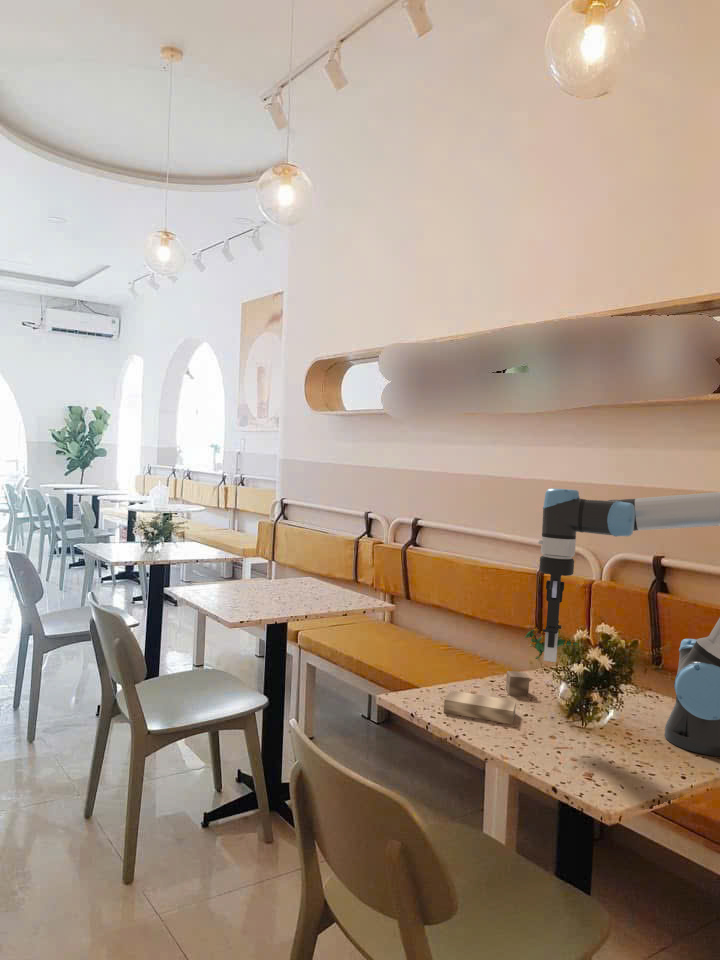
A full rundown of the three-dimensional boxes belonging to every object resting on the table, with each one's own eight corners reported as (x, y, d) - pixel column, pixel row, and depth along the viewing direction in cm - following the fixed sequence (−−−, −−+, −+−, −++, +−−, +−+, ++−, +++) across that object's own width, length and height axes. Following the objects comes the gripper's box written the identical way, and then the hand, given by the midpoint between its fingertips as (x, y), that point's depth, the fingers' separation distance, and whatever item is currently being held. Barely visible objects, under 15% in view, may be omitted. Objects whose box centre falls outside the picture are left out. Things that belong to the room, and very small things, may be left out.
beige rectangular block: (515, 713, 170) (516, 700, 170) (512, 724, 163) (513, 711, 163) (449, 702, 175) (450, 690, 175) (443, 712, 167) (444, 699, 167)
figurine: (524, 654, 165) (527, 619, 165) (578, 663, 160) (580, 627, 160) (522, 657, 162) (524, 622, 162) (576, 666, 157) (579, 630, 157)
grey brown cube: (524, 690, 189) (525, 672, 189) (528, 696, 184) (529, 677, 184) (505, 689, 189) (506, 670, 189) (508, 695, 184) (510, 676, 184)
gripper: (541, 551, 170) (535, 648, 170) (538, 558, 154) (531, 665, 154) (574, 554, 167) (567, 653, 168) (574, 561, 152) (566, 670, 152)
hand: (550, 658), depth 161 cm, fingers closed on figurine, 3 cm apart
